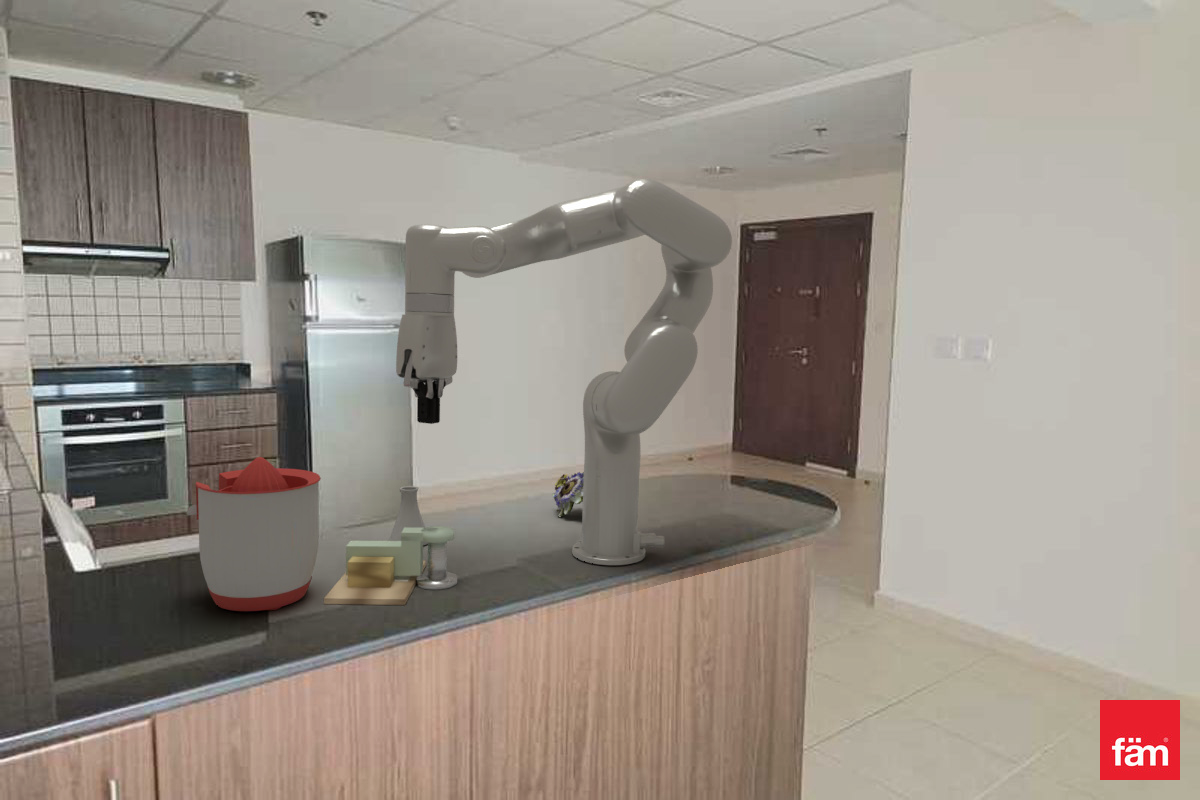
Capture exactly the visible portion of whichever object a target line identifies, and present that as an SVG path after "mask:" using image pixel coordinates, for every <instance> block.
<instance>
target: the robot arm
mask: <svg viewBox="0 0 1200 800" xmlns="http://www.w3.org/2000/svg"><path fill="white" fill-rule="evenodd" d="M643 236H647V237H649V238H650V239H652V240H653V241H655V242H656V243H658V244H660V245H661V248H660V251H661V254H662V258H663V262H664V266H665V272H666V273H665V277H666V278H665V281H664V282H665V283H664V285H663V287H662V289H661V291H660V292H659V294H658V296H657V298H656V299H655V300H654V302H653V303H652V305H651V306H650V307H649V309H648V310H647V312H646V313H645V314H644V315H643V317H642V319H641V320H640V321H639V322H638V324H636V326H635V327H634V328H633V329H632V330H631V332H630V334H629V335H628V337H627V339H626V341H625V345H624V348H623V349H624V356H625V360H626V363H625V365H623V368H622V369H621V371H614V370H613V371H605V372H602V373H600V374H598V375H596V376H595V377H594V378H593V379H592V380H591V381H590V382H589V383H588V385H587V387H586V388H585V392H584V396H583V401H582V415H583V427H584V461H583V462H584V465H583V472H584V484H583V502H582V515H581V517H582V519H581V523H582V525H581V540H580V541H578V542H575V544H573V545H572V550H571V551H572V555H573V556H574V557H575V558H576V559H577V558H578V559H577V560H579V561H582V562H584V561H585V563H588V564H592V563H593V565H599V566H600V565H601V566H626V565H630V564H631V565H632V564H636V563H639V562H641V561H642V560H643V559H644V558H645V557H646V549H647V547H653V548H665V535H656V533H650V532H649V533H648V532H647V533H643V532H642V531H641V530H640V528H639V527H638V526H639V525H638V522H639V521H638V516H639V514H638V513H639V495H640V494H639V492H640V491H639V490H640V469H641V436H640V435H641V434H642V433H644V432H646V431H647V430H649V429H650V428H651V427H652V426H653V425H654V424H655V422H657V420H658V419H659V418H660V417H661V416H662V414H663V413H664V411H665V410H666V408H667V407H668V405H670V403H671V402H672V400H673V399H674V397H675V396H676V395H677V393H679V390H680V389H681V388H682V386H683V385H684V384H685V382H686V381H687V379H688V378H689V376H690V374H691V373H692V372H693V370H694V367H695V365H696V362H697V358H698V349H699V347H698V342H697V339H696V336H695V335H694V332H696V330H697V328H698V327H699V325H700V323H701V322H702V321H703V319H704V317H705V315H706V314H707V312H708V311H709V308H710V306H711V303H712V299H713V292H714V280H713V279H714V278H713V271H712V268H713V267H717V266H718V265H720V264H722V263H723V262H724V261H725V260H726V258H727V257H728V255H729V254H730V253H731V252H730V251H731V249H732V244H733V242H732V241H733V237H732V232H731V231H730V228H729V226H728V225H727V223H726V222H725V221H724V219H722V217H720V216H719V215H718V214H716V213H714V212H712V211H711V210H709V209H707V208H706V207H704V206H702V205H701V204H699V203H697V202H696V201H694V200H692V199H691V198H689V197H687V196H686V195H684V194H682V193H680V192H679V191H676V190H675V189H674V188H672V187H670V186H668V185H666V184H664V183H663V182H661V181H657V180H655V179H652V178H646V177H645V178H637V179H635V180H632V181H631V182H629V183H627V184H625V185H623V186H620V187H617V188H613V189H609V190H605V191H601V192H598V193H596V194H592V195H588V196H583V197H579V198H575V199H571V200H566V201H562V202H558V203H556V204H553V205H549V206H547V207H545V208H543V209H542V210H539V211H538V212H535V213H534V214H531V215H529V216H526V217H524V218H522V219H519V220H516V221H512V222H509V223H505V224H501V225H498V226H495V227H488V226H482V225H477V226H473V225H472V226H464V227H463V226H462V227H461V226H460V227H446V226H442V225H435V224H417V225H416V224H415V225H412V226H410V227H408V229H406V233H405V261H404V263H405V265H404V266H405V268H404V269H405V270H404V272H405V277H404V278H405V282H404V283H405V284H404V286H405V287H404V289H405V290H404V292H405V294H404V314H402V315H401V318H400V323H399V327H398V334H397V335H398V336H397V345H396V358H395V359H396V362H395V366H396V367H395V369H396V375H397V376H398V377H399V378H402V379H403V386H404V387H405V388H410V389H412V390H413V392H414V397H416V398H417V399H416V400H417V401H416V402H417V403H416V404H417V408H416V409H417V410H416V411H417V413H416V414H417V417H416V421H417V422H418V423H420V424H422V423H423V424H430V425H432V424H439V423H440V421H441V418H440V417H441V413H440V412H441V398H442V397H443V394H444V393H443V392H444V389H445V387H446V386H448V385H451V384H452V383H453V377H454V375H456V373H457V369H458V368H457V367H458V335H457V326H456V320H455V274H456V272H460V273H462V274H464V275H465V276H467V277H470V278H474V279H477V278H478V279H481V278H485V277H488V276H492V275H496V274H499V273H503V272H506V271H510V270H513V269H518V268H521V267H525V266H528V265H532V264H537V263H541V262H546V261H554V260H559V259H563V258H566V257H570V256H575V255H577V254H578V255H579V254H581V253H585V252H586V253H587V252H589V251H592V250H596V249H599V248H603V247H607V246H611V245H614V244H618V243H622V242H625V241H630V240H633V239H636V238H639V237H643Z"/></svg>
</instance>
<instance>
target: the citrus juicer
mask: <svg viewBox="0 0 1200 800" xmlns="http://www.w3.org/2000/svg"><path fill="white" fill-rule="evenodd" d="M320 481H321V476H320V475H319V474H318V473H317V472H313V471H311V470H304V469H297V468H279V467H277V468H275V467H274V465H273V464H271V462H269V461H268V460H267V459H265V458H264V457H262V456H258V457H256V458H254V459H253V460H252V461H250V463H249V464H248V465H247V466H246V467H245V468H244V469H237V470H230V471H224V472H221V473H218V490H213V489H211V488H210V485H208V484H205V483H201V482H199V481H196V483H195V496H196V500H195V501H196V503H194V504H193V505H190V507H188V508H187V511H186V515H187V516H192V515H193V516H195V515H196V520H198V547H199V549H198V550H199V558H200V559H199V560H200V564H201V568H202V572H203V576H204V577H203V578H204V579H205V582H206V585H207V590H208V592H209V595H210V597H211V598H212V601H213V602H214V604H215V605H216V606H217V605H218V606H217V607H219V608H221V609H223V610H224V609H225V610H229V611H235V612H259V611H277V610H279V609H281V608H282V607H284V606H288V605H290V604H291V605H292V604H293V603H295V602H297V601H299V600H301V599H302V598H303V597H304V596H305V595H306V593H307V590H308V589H309V586H310V584H311V580H313V579H312V578H313V572H314V569H315V565H316V561H317V556H318V552H319V538H320V534H319V533H320V528H319V527H320V526H319V525H320V522H319V518H320V517H319V516H320V514H319V513H320V512H319V511H320V510H319V509H320V506H319V497H320V495H319V494H320V493H319V487H320V485H319V482H320Z"/></svg>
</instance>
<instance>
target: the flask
mask: <svg viewBox="0 0 1200 800" xmlns="http://www.w3.org/2000/svg"><path fill="white" fill-rule="evenodd" d="M419 488H420V487H419V486H415V485H406V486H400V488H399V493H400V494H401V495H400V505H399V509H398V513H397V517H396V519H395V523H394V524H393V527H392V530H391V533H390V535H389V538H388V541H401V532H402V531H403V529H404V527H408V528H426V526H425V523H424V520H423V518H422V515H421V512H420V509H419V502H418V499H417V498H418V491H419ZM426 545H428V542H425V541H423V546H426Z"/></svg>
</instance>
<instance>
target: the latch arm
mask: <svg viewBox="0 0 1200 800" xmlns="http://www.w3.org/2000/svg"><path fill="white" fill-rule="evenodd" d="M454 539H455V529H454V528H453V527H451V526H447V525H446V526H444V525H433V526H425V528H408V527H404V529H403V531H402V532H401V541H389V540H350V541H349V542H348V543H347V544H346V546H345V573H346V575H348V561H349V560H350V559H351V558H352V556H371V557H394V576H420V575H421V573H422V574H423V572H422V570H423V561H424V545H423V541H425V542H430V543H442V542H447V543H448V542H451V541H454ZM423 571H424V570H423Z"/></svg>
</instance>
